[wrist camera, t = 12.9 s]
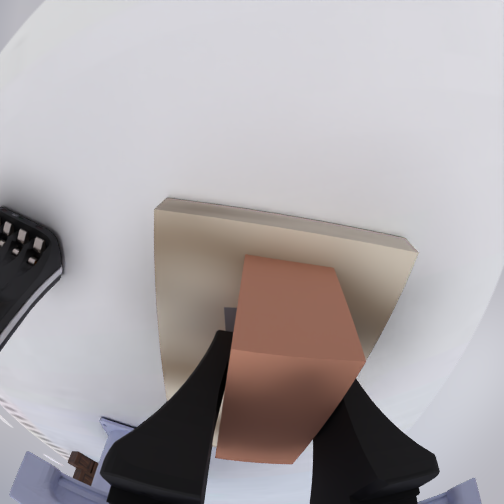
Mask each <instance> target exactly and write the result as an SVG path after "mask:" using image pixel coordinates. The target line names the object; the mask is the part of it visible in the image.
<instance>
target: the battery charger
mask: <svg viewBox="0 0 504 504" xmlns="http://www.w3.org/2000/svg"><path fill="white" fill-rule="evenodd" d="M61 273H62V264H61V256H60V249H59V245H58V242H57V239H56V237H55V236H54V234H53V233H52V232H50V231H49V230H48V229H46V228H44V227H42V226H40V225H38V224H36V223H34V222H32V221H30V220H28V219H26V218H24V217H22V216H20V215H18V214H16V213H14V212H12V211H9V210H7V209H5V208H2V207H0V351H1V350H2V348H3V347H4V346H5V344H6V343H7V341H8V340H9V339H10V337H11V336H12V335H13V333H14V332H15V331H16V329H17V328H18V326H19V325H20V324H21V323H22V321H23V320H24V318H25V317H26V316H27V314H28V313H29V312H30V311H31V309H32V308H33V307H34V306H35V305H36V304H37V302H38V301H39V300H40V299H41V298H42V297H43V296H44V295H45V294H46V293H47V292H48V291H49V290H50V289H51V288H52V287H53V286H54V285H55V284H56V283H57V282H58V281H59V280H60V278H61Z"/></svg>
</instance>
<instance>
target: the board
mask: <svg viewBox="0 0 504 504" xmlns="http://www.w3.org/2000/svg"><path fill="white" fill-rule="evenodd" d="M245 254H247V255H253V256H260V257H266V258H273V259H279V260H286V261H292V262H299V263H306V264H312V265H319V266H325V267H332V268H334V270H335V272H336V275H337V277H338V280H339V283H340V286H341V288H342V291H343V294H344V296H345V299H346V302H347V305H348V308H349V311H350V313H351V316H352V319H353V322H354V325H355V328H356V331H357V334H358V337H359V340H360V343H361V346H362V349H363V352H364V356H365V359H366V360H367V358H368V356H369V354H370V353H371V351H372V349H373V347H374V346H375V344H376V342H377V340H378V338H379V337H380V335H381V333H382V331H383V329H384V327H385V325H386V323H387V322H388V320H389V318H390V316H391V314H392V312H393V310H394V308H395V306H396V304H397V301H398V299H399V297H400V295H401V293H402V291H403V289H404V286H405V284H406V282H407V280H408V277H409V275H410V273H411V270H412V268H413V266H414V263H415V261H416V258H417V256H418V251H417V250H416V249H415V248H414V247H413V246H412V245H411V244H410V243H409V242H408V241H407V239H406V238H402V237H398V236H393V235H388V234H384V233H379V232H374V231H369V230H364V229H359V228H354V227H349V226H344V225H338V224H333V223H328V222H322V221H317V220H311V219H305V218H300V217H294V216H288V215H282V214H276V213H270V212H263V211H257V210H251V209H244V208H237V207H231V206H224V205H217V204H209V203H202V202H195V201H187V200H179V199H171V198H166V199H165V200H164V201H163V202H162V203H161V204H159V205H158V206H157V207H156V208H155V209H154V260H155V287H156V305H157V319H158V331H159V342H160V351H161V360H162V369H163V377H164V384H165V391H166V398H167V401H168V400H169V399H170V398H171V397H172V396H173V395H174V394H175V393H176V392H177V391H178V390H179V389H180V387H181V386H182V385H183V384H184V383H185V382H186V380H187V379H188V378H189V376H190V375H191V374H192V372H193V371H194V370H195V368H196V367H197V366H198V364H199V363H200V361H201V360H202V358H203V357H204V355H205V353H206V352H207V350H208V348H209V346H210V345H211V343H212V341H213V338H214V336H215V334H216V331H218V330H224V331H230V332H233V331H234V325H235V318H236V311H237V305H238V298H239V292H240V285H241V278H242V272H243V265H244V259H245ZM224 392H225V391H224ZM223 399H224V395H223ZM223 399H222V403H221V407H220V411H219V415H218V419H217V423H216V427H215V431H214V436H213V443H212V446H213V447H217V441H218V434H219V427H220V420H221V413H222V406H223Z"/></svg>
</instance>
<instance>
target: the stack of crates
mask: <svg viewBox="0 0 504 504" xmlns="http://www.w3.org/2000/svg"><path fill="white" fill-rule="evenodd" d="M68 463H69V464H71V465H73V466H74V467H76V470H75V473H74V476H73V478H74V479H76V480H78V481H80V482H82V483H85V484H87V485H89V486H91V485H92V482H93V479H94V476H95V473H96V470H97V467H98V464H99V463H97V462H94V461H93V460H92V459H90V458H88V457H87V456H85V455H83V454H82V453H80V452H75V451H72V453H71V455H70V458H69V460H68Z"/></svg>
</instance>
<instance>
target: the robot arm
mask: <svg viewBox="0 0 504 504" xmlns="http://www.w3.org/2000/svg"><path fill="white" fill-rule="evenodd" d="M232 338H233V332H230V331H224V330H218V331H216V334H215V336H214V338H213V341H212V343H211V345H210V346H209V348H208V350H207V352H206V353H205V355H204V357H203V358H202V360H201V361H200V363H199V364H198V366H197V367H196V368H195V370H194V371H193V372H192V374H191V375H190V376H189V378H188V379H187V380H186V382H185V383H184V384H183V385H182V386H181V387H180V389H179V390H178V391H177V392H176V393H175V394H174V395H173V396H172V397H171V398H170V399H169V400H168V401H167V402H166V403H165V404H164V405H163V406H162V407H161V408H160V409H159V410H158V411H157V412H155V413H154V414H153V415H152V416H151V417H149V418H148V419H147V420H146V421H144V422H143V423H142V424H140V425H139V426H138V427H137V428H135V429H134V428H131V427H128V426H125V425H122V424H118V423H115V422H112V421H110V420H107V419H104V418H100V420H99V421H100V423H101V425H102V426H103V428H104V430H105V431H106V433H107V435H108V439H107V441H106V444H105V447H104V450H103V452H102V455H101V458H100V461H99V464H98V467H97V470H96V473H95V476H94V479H93V482H92V485H91V486H89V485H87V484H85V483H82V482H80V481H78V480H76V479H74V478H72V477H70V476H68V475H66V474H63V473H62V472H61V471H60V470H59V469H57V468H56V467H55V466H53V465H51V464H50V463H48V462H46V461H45V460H43V459H41V458H39V457H38V456H36V455H34V454H33V453H31V452H29V451H27V452H26V454H25V456H24V459H23V461H22V463H21V466H20V468H19V471H18V473H17V476H16V478H15V480H14V483H13V486H12V488H11V491H10V494H9V495H10V497H11V498H13V499H14V500H16V501H17V502H18V503H20V504H204V500H205V492H206V485H207V478H208V471H209V464H210V457H211V450H212V443H213V436H214V431H215V427H216V423H217V419H218V415H219V411H220V407H221V403H222V399H223V395H224V391H225V386H226V379H227V372H228V365H229V359H230V352H231V345H232ZM439 472H440V471H439V468H438V463H437V460H436V457H435V455H434V454H433V453H431V452H430V451H428V450H427V449H425V448H423V447H422V446H420V445H419V444H417V443H416V442H415V441H413V440H412V439H411V438H409V437H408V436H407V435H406V434H404V433H403V432H402V431H401V430H400V429H399V428H397V427H396V426H395V425H394V424H393V423H392V422H391V421H390V420H389V419H388V418H387V417H386V416H385V415H384V414H383V413H382V412H381V410H380V409H379V408H378V407H377V406H376V405H375V404H374V402H373V401H372V400H371V399H370V397H369V396H368V395H367V393H366V392H365V391H364V389H363V388H362V387H361V385H360V384H359V382H358V381H357V379H355V380H354V382H353V383H352V385H351V387H350V388H349V390H348V391H347V393H346V394H345V396H344V397H343V399H342V400H341V402H340V403H339V404H338V406H337V407H336V409H335V410H334V412H333V413H332V414H331V416H330V417H329V419H328V420H327V421H326V423H325V424H324V425H323V427H322V428H321V429H320V431H319V432H318V433H317V435H316V436H315V437H314V438H313V474H312V487H311V497H310V504H481V499H480V495H479V491H478V487H477V483H476V480H475V478H472V479H470V480H468V481H466V482H463V483H461V484H459V485H457V486H455V487H453V488H451V489H450V490H448V491H447V492H445V493H442V494H439V495H437V496H434V497H431V498H428V499H426V500H423V501H420V502H417V497H416V496H417V495H419V493H420V491H419V487H420V486H422V485H424V484H425V483H427V482H429V481H430V480H432V479H434V478H435V477H436V476H437V475H438V474H439Z"/></svg>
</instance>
